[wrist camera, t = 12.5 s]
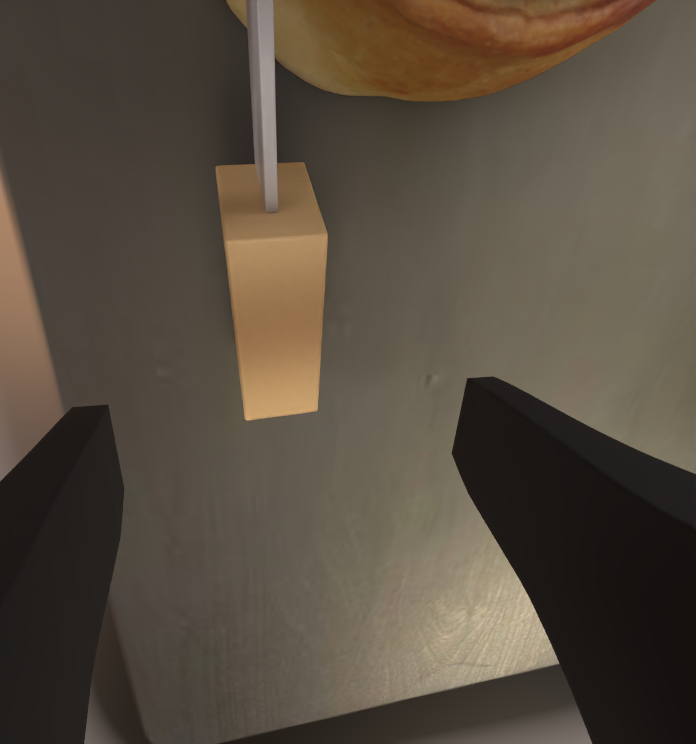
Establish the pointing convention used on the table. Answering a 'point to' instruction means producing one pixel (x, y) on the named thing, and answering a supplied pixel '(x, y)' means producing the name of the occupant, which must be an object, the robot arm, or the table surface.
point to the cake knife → (273, 253)
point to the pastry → (434, 42)
